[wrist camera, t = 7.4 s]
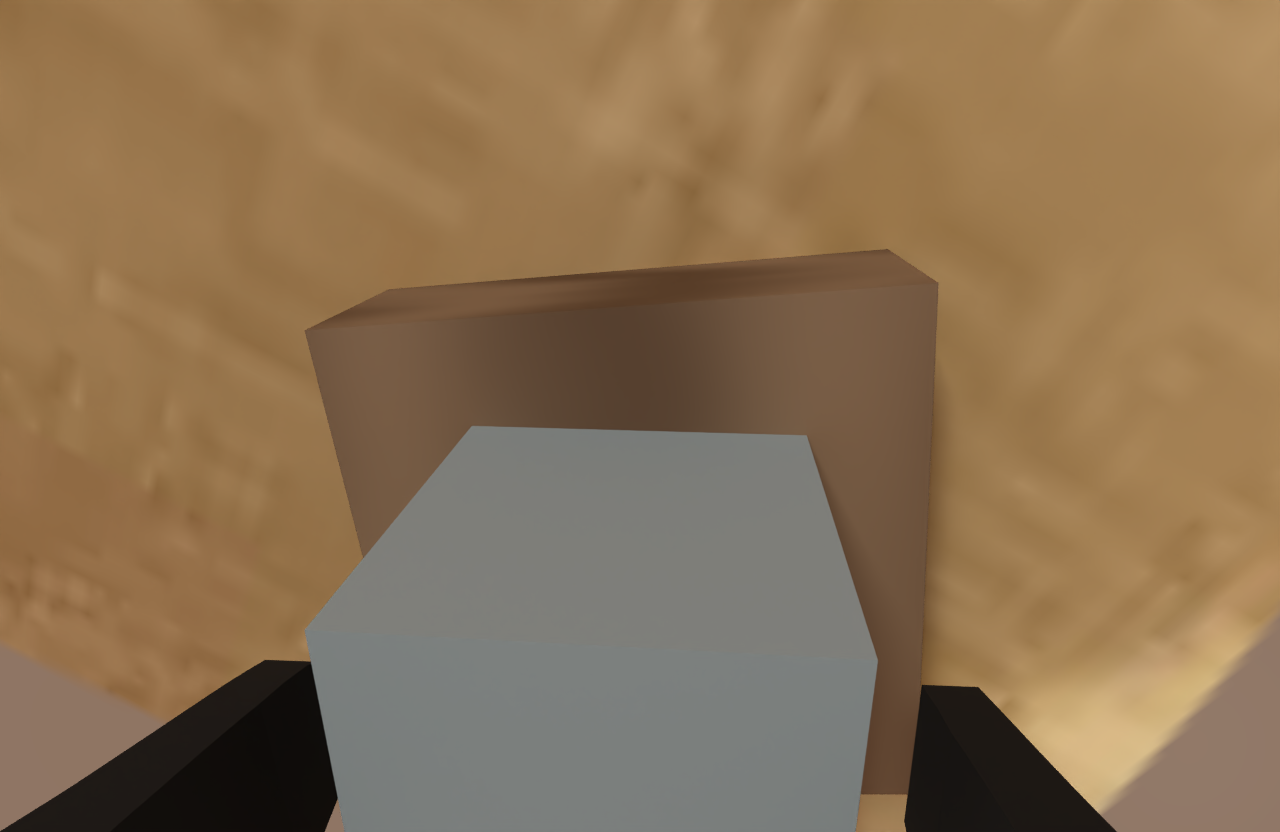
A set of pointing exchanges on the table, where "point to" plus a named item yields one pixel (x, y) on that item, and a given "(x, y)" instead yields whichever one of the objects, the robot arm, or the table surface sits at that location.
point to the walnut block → (673, 402)
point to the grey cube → (601, 643)
